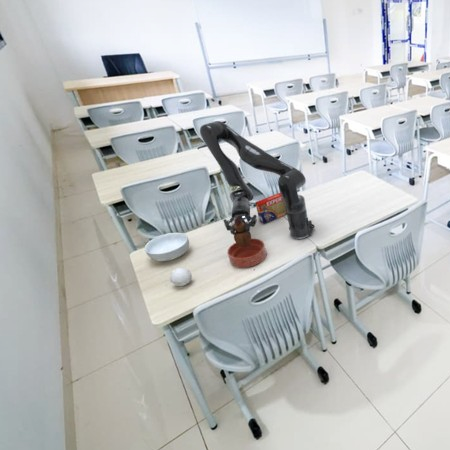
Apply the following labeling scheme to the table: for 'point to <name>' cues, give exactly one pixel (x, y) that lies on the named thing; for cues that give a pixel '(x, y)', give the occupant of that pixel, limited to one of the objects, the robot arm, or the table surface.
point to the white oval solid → (180, 276)
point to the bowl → (247, 253)
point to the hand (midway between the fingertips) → (240, 231)
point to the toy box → (270, 208)
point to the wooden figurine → (241, 234)
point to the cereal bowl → (167, 246)
